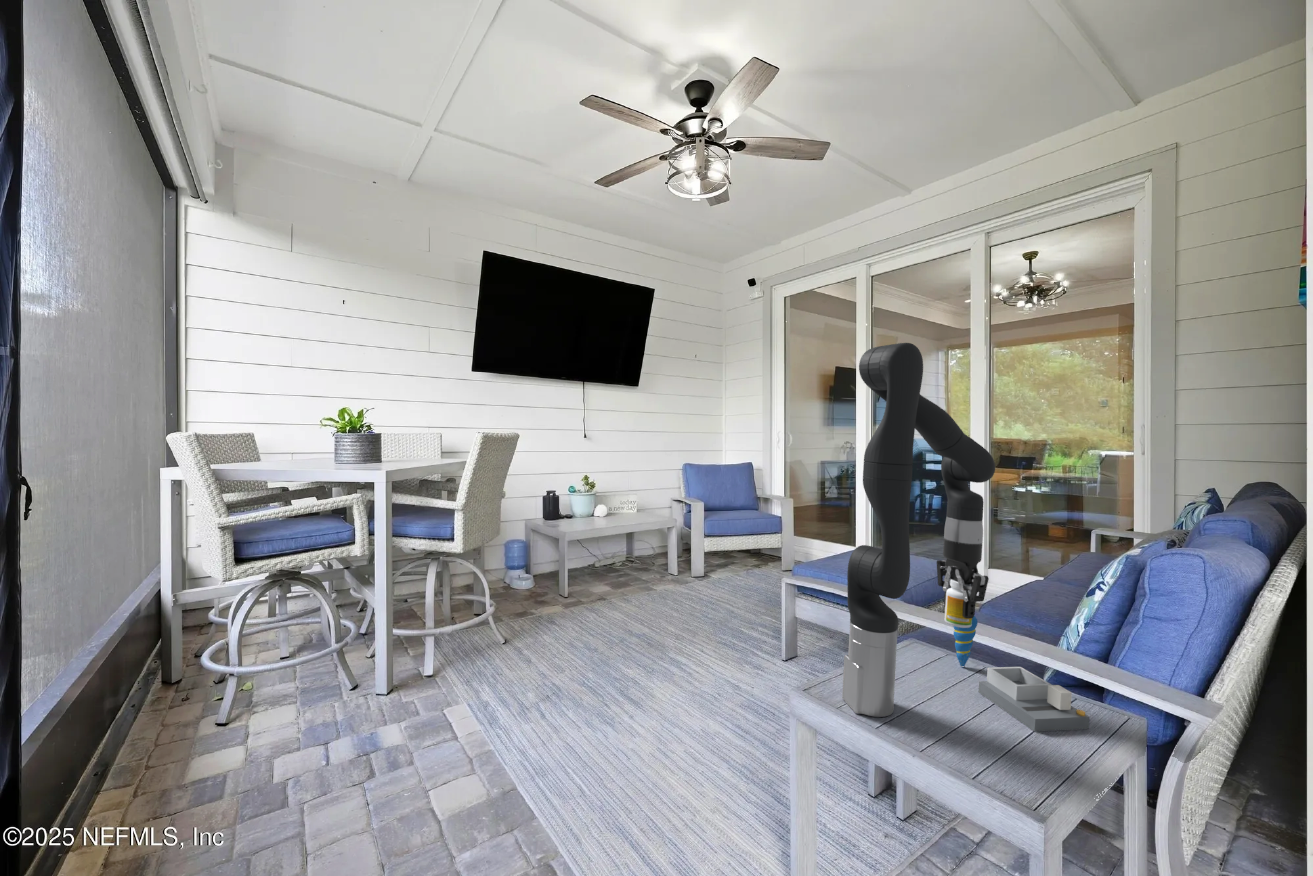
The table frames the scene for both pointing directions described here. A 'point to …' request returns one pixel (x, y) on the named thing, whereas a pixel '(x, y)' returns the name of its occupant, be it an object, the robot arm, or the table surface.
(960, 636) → the ornament
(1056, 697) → the breaker handle
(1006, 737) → the table surface
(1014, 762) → the table surface
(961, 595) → the supplement bottle
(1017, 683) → the breaker panel
